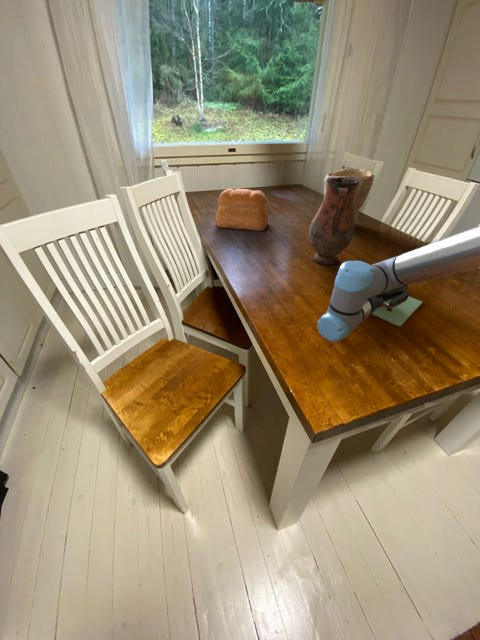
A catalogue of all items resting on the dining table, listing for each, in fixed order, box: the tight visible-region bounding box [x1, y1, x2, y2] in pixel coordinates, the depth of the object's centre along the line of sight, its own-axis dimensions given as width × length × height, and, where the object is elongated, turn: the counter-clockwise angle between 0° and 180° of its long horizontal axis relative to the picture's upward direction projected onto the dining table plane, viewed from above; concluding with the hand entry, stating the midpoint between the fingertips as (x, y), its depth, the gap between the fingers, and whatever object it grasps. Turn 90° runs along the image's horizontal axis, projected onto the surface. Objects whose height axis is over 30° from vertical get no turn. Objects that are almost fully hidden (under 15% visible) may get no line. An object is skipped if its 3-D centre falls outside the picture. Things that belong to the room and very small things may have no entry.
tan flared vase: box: [323, 167, 375, 218], centre depth 138 cm, size 22×22×25 cm
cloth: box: [371, 296, 423, 328], centre depth 89 cm, size 20×18×1 cm
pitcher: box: [308, 177, 359, 266], centre depth 101 cm, size 17×21×30 cm
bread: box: [215, 188, 269, 232], centre depth 137 cm, size 16×26×17 cm, turn 78°
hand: (393, 278), depth 88 cm, fingers closed on cup, 8 cm apart
